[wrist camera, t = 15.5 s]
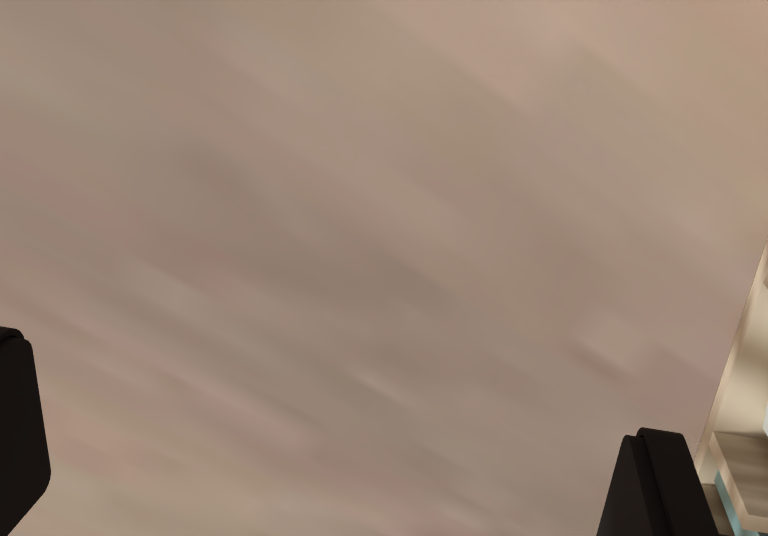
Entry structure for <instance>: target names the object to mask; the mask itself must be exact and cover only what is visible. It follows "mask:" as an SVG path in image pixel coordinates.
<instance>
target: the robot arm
mask: <svg viewBox="0 0 768 536" xmlns="http://www.w3.org/2000/svg"><path fill="white" fill-rule="evenodd" d="M50 476H51V467H50V461H49V454H48V448H47V441H46V435H45V428H44V422H43V415H42V409H41V402H40V395H39V389H38V382H37V376H36V369H35V363H34V356H33V350H32V346H31V344H30V342H29V341H27V340H25V339H24V336H23V334H22V333H21V332H20V331H19V330H17V329H14V328H7V327H1V326H0V536H8V534H9V533H10V532H11V531H12V530H13V529H14V527H15V526H16V525H17V524H18V523H19V522H20V520H21V519H22V518H23V517H24V516H25V515H26V513H27V512H28V511H29V510H30V509H31V508H32V506H33V505H34V504H35V503H36V502H37V501H38V499H39V498H40V497H41V496H42V495H43V493H44V492H45V490H46V488H47V486H48V484H49V481H50ZM596 536H729V535H723V534H719V533H718V530H717V527H716V524H715V521H714V519H713V516H712V513H711V510H710V507H709V505H708V502H707V499H706V496H705V494H704V491H703V488H702V485H701V482H700V480H699V477H698V474H697V471H696V468H695V466H694V463H693V460H692V457H691V455H690V452H689V449H688V446H687V443H686V441H685V438H684V436H683V435H682V434H680V433H675V432H669V431H662V430H656V429H650V428H643V427H642V428H640V429H639V431H638V432H637V435H636V436H630V435H625V436H624V438H623V440H622V443H621V447H620V451H619V454H618V458H617V462H616V465H615V469H614V473H613V476H612V480H611V484H610V487H609V491H608V495H607V498H606V502H605V506H604V510H603V513H602V517H601V521H600V524H599V528H598V532H597V535H596Z"/></svg>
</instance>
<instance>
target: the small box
mask: <svg viewBox="0 0 768 536" xmlns="http://www.w3.org/2000/svg"><path fill="white" fill-rule="evenodd" d="M763 429H764V431H765V433H766V435H767V436H768V402H767V408H766V413H765V419H764V424H763Z"/></svg>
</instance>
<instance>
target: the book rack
mask: <svg viewBox="0 0 768 536" xmlns="http://www.w3.org/2000/svg"><path fill="white" fill-rule="evenodd" d="M767 402H768V239H767V242H766V245H765V248H764V251H763V254H762V257H761V260H760V263H759V266H758V269H757V272H756V275H755V278H754V281H753V284H752V287H751V290H750V293H749V297H748V300H747V303H746V306H745V309H744V312H743V315H742V318H741V321H740V324H739V327H738V330H737V333H736V336H735V339H734V342H733V345H732V348H731V351H730V354H729V357H728V360H727V363H726V366H725V369H724V372H723V376H722V379H721V382H720V385H719V388H718V391H717V394H716V397H715V400H714V403H713V406H712V409H711V412H710V415H709V418H708V421H707V424H706V427H705V430H704V433H703V436H702V439H701V442H700V445H699V448H698V451H697V454H696V458H695V461H694V466H695V468H696V471H697V474H698V477H699V480H700V482H701V485H702V488H703V491H704V494H705V496H706V499H707V502H708V505H709V507H710V510H711V513H712V516H713V519H714V521H715V524H716V527H717V530H718V533H719V534H723V535H729V536H768V436H767V435H766V433H765V431H764V429H763V424H764V419H765V413H766V408H767Z"/></svg>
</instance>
